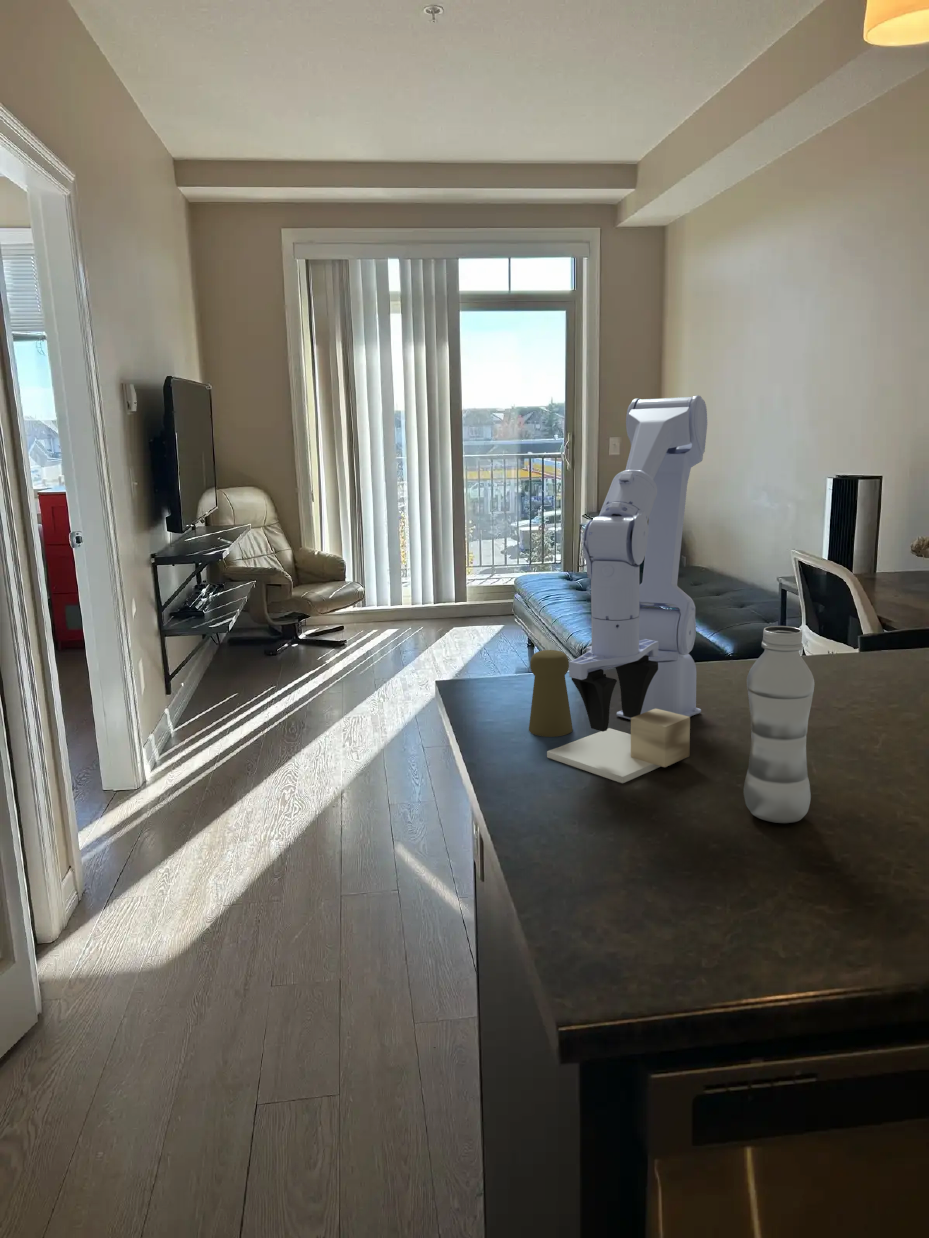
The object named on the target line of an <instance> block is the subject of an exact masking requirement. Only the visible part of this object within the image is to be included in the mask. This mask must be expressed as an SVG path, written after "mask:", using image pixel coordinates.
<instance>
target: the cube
mask: <svg viewBox="0 0 929 1238" xmlns="http://www.w3.org/2000/svg"><path fill="white" fill-rule="evenodd" d="M690 729H691V716H690V717H689V716H685V715H680V714H676V713H672V712H668V711H664V710H660V709H656V708H655V709H653V710H650V711H648V712H645V713H642V714H640V715H637V716H635V717H632V718H631V720H630V734H631V757H632V758H635V759H639V760H642V761H645V762H649V763H652V764H655V765H658V766H661V767H662V768H667V767H668V766H672V765H673V764H675V763H677V762H680V761H682V760H684V759H686V758H689V757H690V743H691V742H690V741H691V739H690V737H691V736H690V733H691V730H690Z"/></svg>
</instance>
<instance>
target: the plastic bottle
mask: <svg viewBox="0 0 929 1238" xmlns="http://www.w3.org/2000/svg"><path fill="white" fill-rule="evenodd" d="M762 636H763V637H762V641H761V648H762V649H764V651H763V652H762V654H761V655H760V656H759V657H758V658H757V659H756V660H755V662H754V663H753V665H752V666H751V668H750V669H749V672H748V674H747V677H746V688H747V694H748V695H747V696H748V703H749V712H750V729H751V732H750V736H751V737H750V738H751V739H750V741H751V742H750V751H749V759H748V766H747V767H748V769H747V770H746V775H745V778H744V779H745V780H744V786H743V797H744V802H745V805H746V807H747V809H748V811H750V813H751V815H753V816H754V817H756V818H757V819H760V820H763V821H766V822H769V823H776V824H777V823H778V824H789V823H797V822H799V821H801V820H802V819H803V818H804V817H805V816H806V815H807V813H808V812H809V810H810V804H811V798H812V795H811V786H810V785H811V784H810V781H809V776H808V761H807V739H808V737H807V734H808V727H809V726H808V725H809V718H810V714H811V713H810V711H811V708H812V702H813V698H814V691H815V690H814V689H815V684H816V683H815V679H814V675H813V672H812V671H811V670H810V667H809V666H808V664H807V662H806V661H805V660H804V658H803V657H802V656H801V654H800V651H802V650H803V646H804V644H803V630H802V629H801V628H799V627H795V626H786V625H770V626H767V627H764V628H763V633H762Z"/></svg>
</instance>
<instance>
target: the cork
mask: <svg viewBox="0 0 929 1238" xmlns="http://www.w3.org/2000/svg"><path fill="white" fill-rule="evenodd" d="M569 661H570V660H569V658H568V656H567V654H566V653H565V652H563V651H560V650H555V649H545V650H544V649H543V650H539V651H536V652H535V653H533V655H532V656H531V658H530V664H529V665H530V669H531V670H530V671H531V673H532V674H533V676H534V677H533V678H534V679H533V680H534V681H533V688H532V696H531V697H532V698H531V705H530V716H529V725H528V732H530V734H532V735H534V736H538V737H545V738H553V737H554V738H555V737H557V738H558V737H563V736H567V735H569V734H570V733H572V732H573V730H574V729H573V723H572V722H573V721H572V717H571V716H572V715H571V714H572V713H571V710H570V701H569V695H568V688H567V680H566V675H567V673H569Z"/></svg>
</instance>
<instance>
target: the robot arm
mask: <svg viewBox="0 0 929 1238" xmlns="http://www.w3.org/2000/svg"><path fill="white" fill-rule="evenodd" d="M625 416H626V417H625V426H626V427H625V429H626V433H627V434H626V435H627V438H628V440H629V443H630V450H629V454H628V458H627V461H626V465H625V466H626V467H625V470H622V471H620V472H618V473H617V474H615V476H614V477H613V478H612V481H611V484H610V486H609V489H608V491H607V494H606V496H605V499H604V501H603V504H602V506H601V509H600V512H599V514H598V515H595V516H594V518H593V519H590V520H589V521H587V523H586V524H585V527H584V531H583V537H582V539H583V540H582V553H583V556H584V560H585V562H586V564H585V565H586V575H587V579H589V580H590V606H591V607H590V609H591V611H590V615H591V618H590V621H591V622H590V623H591V624H590V625H591V645H589V646H586V652H585V653H584V654H582V655H580V656H578V657H577V658H575V659H572V660H568V661H569V668H568V673H569V674H568V676H569V678H571V679H570V680H571V681H572V683H573V684H574V685H575V687H576V689H577V691H578V693H579V695H580V697H581V699H582V701H583V704H584V707H585V711H586V713H587V717H588V722H589V725H590V728H591V729H594V730H596V731H598V732H600V731H602V732H604V731H606V730H607V729H608V728H609V722H610V707H611V700H612V696H613V692H614V688H615V687H616V684H617V682H618V683H619V687H620V699H621V700H620V701H621V703H620V704H621V710H619V711H616V716H617V717H619V718H623V719H628V720H630V721H631V718H632V717H635V716H637V715H640V714H642V713H645V712H648V711H650V710H653V709H655V708H656V709H660V710H664V711H668V712H672V713H676V714H680V715H685V716H689V717H690V718H691V717H692V716H694V715H698V714H700V713H701V712H702V709H701V708H698V707H696V706H697V666H696V663H695V660H694V659H693V657H692V655H691V654H690V652H691V651H692V650H693V649H694V645H695V640H696V634H697V633H696V632H697V623H696V604H695V601H694V600H693V599H692V597H691V596H690V595H688V594H687V593H686V592H684V590H683V589H682V588H680V587H679V586H678V580H679V579H678V578H679V571H680V562H681V561H680V559H681V549H682V540H683V530H684V521H685V511H686V510H685V509H686V500H687V491H688V490H687V489H688V483H689V480H690V479H689V478H690V475H691V469H692V467H694V466H696V465H697V464H699V463H701V462H702V461H703V459H704V454H705V452H706V443H707V442H706V440H707V431H708V409H707V404H706V402H705V400H704V399H703V398H702V396H701V395H699V394H698V395H694V396H682V397H680V396H679V397H662V398H644V399H641V398H638V397H637V398H634V399H632V401H631V403H630V404H629V405H628V407H627V410H626V415H625ZM643 561H644V562H643ZM642 563H643V571H642V572H643V573H642V582H641V583H640V565H641V564H642ZM655 607H656V608H655ZM659 607H660V608H659ZM670 608H671V609H670ZM673 608H674V609H673ZM675 608H677V609H675ZM613 668H615V671H616V675H617V678H618V680H617V679H616V678H613V677H608V676H607V673H604V671H606V670H607V671H608V670H611V669H613Z"/></svg>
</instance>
